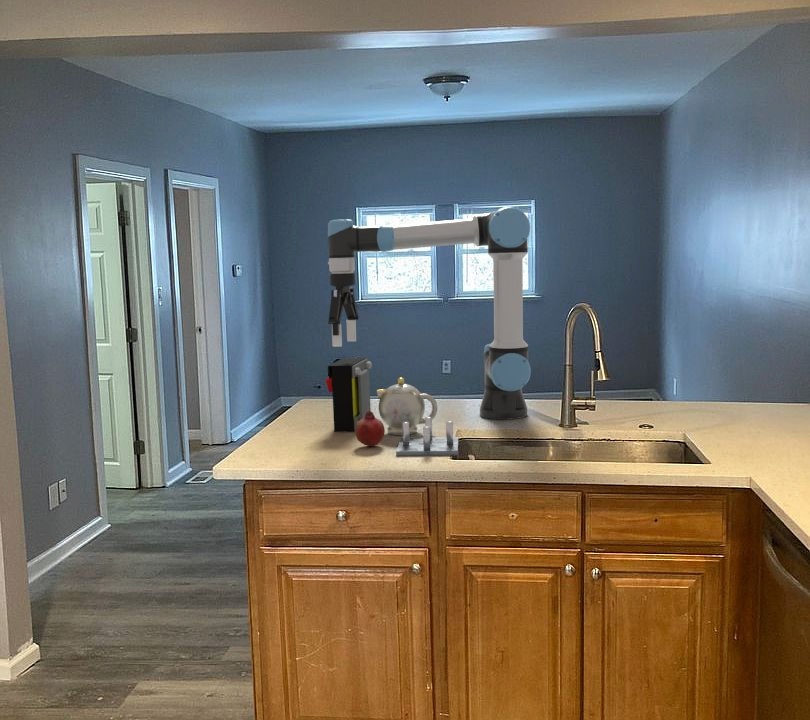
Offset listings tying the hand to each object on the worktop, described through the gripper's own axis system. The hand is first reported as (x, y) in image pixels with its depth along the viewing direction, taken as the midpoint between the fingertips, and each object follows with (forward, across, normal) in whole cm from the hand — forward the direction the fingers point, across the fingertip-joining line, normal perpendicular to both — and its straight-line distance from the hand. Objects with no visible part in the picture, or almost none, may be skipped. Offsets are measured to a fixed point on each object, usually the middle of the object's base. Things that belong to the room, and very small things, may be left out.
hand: (344, 344), depth 253 cm
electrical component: (+26, -5, 0) cm, 27 cm away
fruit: (+26, +21, +14) cm, 36 cm away
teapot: (+26, +3, +20) cm, 33 cm away
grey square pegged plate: (+26, +21, +30) cm, 45 cm away
